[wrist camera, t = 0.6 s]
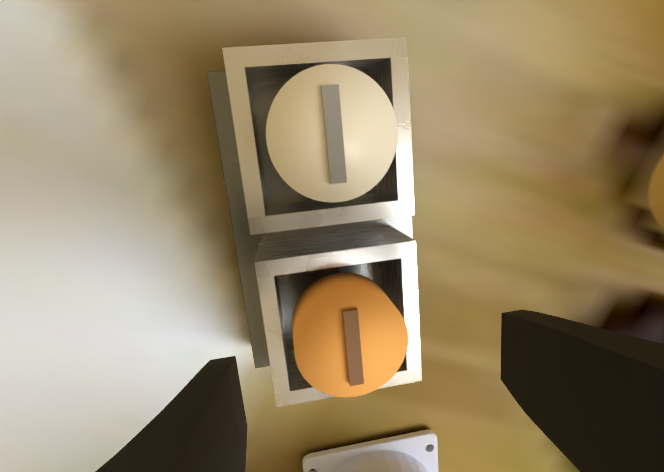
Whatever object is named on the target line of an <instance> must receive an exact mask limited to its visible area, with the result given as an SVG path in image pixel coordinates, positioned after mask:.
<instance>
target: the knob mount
mask: <svg viewBox="0 0 664 472" xmlns="http://www.w3.org/2000/svg"><path fill="white" fill-rule="evenodd" d="M222 50H223V57H224V64H225V70H226V71H216V72H207V74H208V80H209V86H210V93H211V99H212V105H213V111H214V117H215V123H216V130H217V136H218V142H219V148H220V154H221V160H222V167H223V173H224V179H225V185H226V191H227V197H228V203H229V210H230V216H231V222H232V228H233V234H234V240H235V247H236V253H237V259H238V265H239V271H240V277H241V284H242V290H243V296H244V302H245V308H246V314H247V320H248V327H249V333H250V339H251V345H252V351H253V357H254V364H255V368H260V367H266V366H270V368H271V374H272V381H273V387H274V394H275V401H276V407H282V406H287V405H292V404H298V403H303V402H309V401H314V400H319V399H325V398H330V397H336V396H332V395H328V394H325V393H323V392H321V391H319V390H317V389H316V388H314V387H313V386H311V385H310V384H309V383H308V382H307V381H306V380H305V378H304V377H303V376H302V374H301V372H300V371H299V369H298V366H297V363H296V359H295V353H294V342H293V331H292V315H293V311H294V308H295V305H296V303H297V301H298V299H299V297H300V296H301V294H302V293H303V292H304V291H305V290H306V289H307V288H308V287H309V286H310V285H311V284H312V283H314V282H315V281H317V280H318V279H320V278H322V277H324V276H327V275H330V274H335V273H342V272H347V273H356V274H359V275H363V276H365V277H367V278H369V279H371V280H372V281H374V282H375V283H376V284H377V285H378V286H379V287H380V288H381V289H382V290H383V292H384V293H385V294H386V295H387V297H388V298H389V299H390V300H391V302H392V303H393V304H394V305H395V307H396V308H397V309H398V310H399V312H400V313H401V315H402V317H403V318H404V321H405V323H406V327H407V331H408V347H407V352H406V355H405V358H404V360H403V363H402V365H401V366H400V368H399V369H398V371H397V372H396V373H395V375H394V376H393V377H392V378H391V379H390V380H389V381H388V382H386V383H385V384H384V385H383V386H381V387H379V388H384V387H390V386H395V385H401V384H406V383H412V382H417V381H422V375H421V351H420V327H419V304H418V280H417V257H416V241H415V240H414V239H413V233H412V215H415V209H414V186H413V162H412V138H411V115H410V91H409V67H408V44H407V37H397V38H380V39H363V40H346V41H329V42H311V43H294V44H277V45H260V46H243V47H226V48H222ZM323 64H339V65H345V66H349V67H352V68H355V69H357V70H359V71H361V72H363V73H365V74H366V75H368V76H369V77H371V78H372V79H373V80H374V81H375V82H376V83H377V84H378V85H379V86H380V87H381V88H382V89H383V91H384V92H385V94H386V95H387V96H388V98H389V100H390V102H391V104H392V107H393V109H394V112H395V116H396V120H397V128H398V140H397V148H396V152H395V155H394V158H393V161H392V163H391V165H390V167H389V169H388V171H387V172H386V174H385V175H384V177H383V178H382V179H381V180H380V181H379V182H378V184H377V185H375V186H374V187H373V188H372V189H371V190H369V191H368V192H366V193H365V194H363V195H361V196H359V197H357V198H354V199H351V200H348V201H343V202H332V203H331V202H321V201H317V200H313V199H311V198H308V197H306V196H304V195H302V194H300V193H298V192H297V191H295V190H294V189H292V188H291V187H290V186H289V185H288V184H287V183H286V182H285V181H284V180H283V179H282V178H281V176H280V175H279V173H278V172H277V170H276V169H275V167H274V165H273V163H272V161H271V158H270V155H269V152H268V148H267V143H266V123H267V117H268V113H269V110H270V107H271V105H272V102H273V100H274V98H275V97H276V95H277V94H278V92H279V91H280V89H281V88H282V87H283V86H284V85H285V83H286V82H287V81H289V80H290V79H291V78H292V77H293V76H295V75H296V74H298V73H300V72H301V71H303V70H306V69H308V68H310V67H314V66H317V65H323ZM379 388H378V389H379Z"/></svg>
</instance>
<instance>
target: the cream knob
mask: <svg viewBox="0 0 664 472" xmlns="http://www.w3.org/2000/svg"><path fill="white" fill-rule="evenodd" d="M397 140H398V128H397V120H396V116H395V112H394V109H393V107H392V104H391V102H390V100H389V98H388V96H387V95H386V94H385V92H384V91H383V89H382V88H381V87H380V86H379V85H378V84H377V83H376V82H375V81H374V80H373V79H372V78H371V77H369V76H368V75H366V74H365V73H363V72H361V71H359V70H357V69H355V68H352V67H349V66H345V65H339V64H323V65H317V66H314V67H310V68H308V69H306V70H303V71H301V72H300V73H298V74H296V75H295V76H293V77H292V78H291V79H290V80H289V81H287V82H286V83H285V85H284V86H283V87H282V88H281V89H280V91H279V92H278V94H277V95H276V97H275V98H274V100H273V102H272V105H271V107H270V110H269V113H268V117H267V123H266V143H267V148H268V152H269V155H270V158H271V161H272V163H273V165H274V167H275V169H276V170H277V172H278V173H279V175H280V176H281V178H282V179H283V180H284V181H285V182H286V183H287V184H288V185H289V186H290V187H291V188H292V189H294V190H295V191H297V192H298V193H300V194H302V195H304V196H306V197H308V198H311V199H313V200H317V201H321V202H331V203H332V202H343V201H348V200H351V199H354V198H357V197H359V196H361V195H363V194H365V193H366V192H368V191H369V190H371V189H372V188H373V187H374V186H375V185H377V184H378V182H379V181H380V180H381V179H382V178H383V177H384V175H385V174H386V172H387V171H388V169H389V167H390V165H391V163H392V161H393V158H394V155H395V152H396V148H397Z"/></svg>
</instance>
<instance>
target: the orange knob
mask: <svg viewBox="0 0 664 472" xmlns="http://www.w3.org/2000/svg"><path fill="white" fill-rule="evenodd" d="M292 331H293V342H294V353H295V359H296V363H297V366H298V369H299V371H300V372H301V374H302V376H303V377H304V378H305V380H306V381H307V382H308V383H309V384H310V385H311V386H313V387H314V388H316V389H317V390H319V391H321V392H323V393H325V394H328V395H332V396H336V397H355V396H360V395H364V394H367V393H370V392H372V391H374V390H376V389H378V388H379V387H381V386H383V385H384V384H385V383H386V382H388V381H389V380H390V379H391V378H392V377H393V376H394V375H395V373H396V372H397V371H398V369H399V368H400V366H401V365H402V363H403V360H404V358H405V355H406V352H407V347H408V331H407V327H406V323H405V321H404V318H403V317H402V315H401V313H400V312H399V310H398V309H397V308H396V307H395V305H394V304H393V303H392V302H391V300H390V299H389V298H388V297H387V295H386V294H385V293H384V292H383V290H382V289H381V288H380V287H379V286H378V285H377V284H376V283H375V282H374V281H372V280H371V279H369V278H367V277H365V276H363V275H359V274H356V273H347V272H342V273H335V274H330V275H327V276H324V277H322V278H320V279H318V280H317V281H315V282H314V283H312V284H311V285H310V286H309V287H308V288H307V289H306V290H305V291H304V292H303V293H302V294H301V296H300V297H299V299H298V301H297V303H296V305H295V308H294V311H293V315H292Z"/></svg>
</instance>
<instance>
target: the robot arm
mask: <svg viewBox="0 0 664 472" xmlns="http://www.w3.org/2000/svg"><path fill="white" fill-rule="evenodd" d="M501 380H502V381H503V383H504V384H505V386H506V387H507V389H508V390H509V391H510V393H511V394H512V396H513V397H514V399H515V400H516V401H517V403H518V404H519V405H520V406H521V408H522V409H523V410H524V412H525V413H526V414H527V415H528V416H529V417H530V418H531V420H532V421H533V422H534V423H535V424H536V425H537V426H538V427H539V428H540V429H541V430H542V431H543V433H544V434H545V435H546V436H547V437H548V438H549V439H550V440H551V441H552V442H553V443H554V444H555V445H556V446H557V447H558V448H559V450H560V451H561V452H562V453H563V454H564V455H565V456H566V457H567V458H568V459H569V460H570V461H571V462H572V463H573V464H574V465H575V466H576V467H577V469H578V470H579V471H580V472H664V344H661V343H657V342H652V341H648V340H644V339H640V338H636V337H632V336H628V335H624V334H620V333H616V332H612V331H609V330H605V329H601V328H597V327H594V326H590V325H586V324H582V323H579V322H575V321H571V320H567V319H564V318H560V317H556V316H552V315H547V314H543V313H539V312H533V311H527V310H518V311H511V312H505V313H502V327H501ZM429 444H430V446H428V447H427V445H429ZM246 445H247V422H246V416H245V410H244V404H243V399H242V393H241V387H240V381H239V375H238V369H237V363H236V357H235V356H233V357H226V358H220V359H214V360H210V361H209V362H208V363H207V364H206V365H205V366H204V367H203V368H202V369H201V370H200V371H199V372H198V373H197V374H196V375H195V376H194V378H193V379H192V380H191V381H190V382H189V383H188V384H187V385H186V386H185V387H184V388H183V389H182V390H181V391H180V392H179V394H178V395H177V396H176V397H175V398H174V399H173V400H172V401H171V402H170V403H169V404H168V405H167V406H166V407H165V408H164V409H163V410H162V411H161V412H160V413H159V414H158V415H157V416H156V417H155V418H154V419H153V420H152V421H151V422H150V423H149V424H148V425H147V426H146V427H145V428H144V429H142V430H141V431H140V432H139V433H138V434H137V435H136V436H135V437H134V438H133V439H132V440H131V441H130V442H129V443H128V444H127V445H126V446H125V447H124V448H122V449H121V450H120V451H119V452H118V453H117V454H116V455H115V456H113V457H112V458H111V459H110V460H109V461H108V462H106V463H105V464H104V465H103V466H102V467H101V468H99V469H98V470H97V471H96V472H245V465H246ZM302 464H303V472H438V448H437V436H436V434H435V433H434V432H433V430H422V431H417V432H412V433H408V434H403V435H398V436H393V437H388V438H383V439H378V440H373V441H368V442H363V443H358V444H353V445H348V446H343V447H339V448H334V449H329V450H324V451H319V452H314V453H310V454H307V455H306V456H304V458H303V461H302ZM311 469H315V470H313V471H310V470H311Z"/></svg>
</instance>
